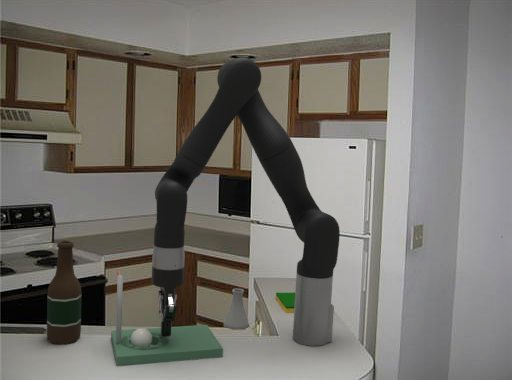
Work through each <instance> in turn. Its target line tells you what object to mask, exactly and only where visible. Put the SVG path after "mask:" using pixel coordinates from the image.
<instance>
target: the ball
mask: <svg viewBox="0 0 512 380" xmlns="http://www.w3.org/2000/svg"><path fill="white" fill-rule="evenodd" d="M147 329H148V328H141V327H140V328H137V330H135V331H134V332H133V334H132V335H131V344H132V345H134V346H138V347H149V346H152V344H151V343H152V335H151V333H150V332H149V331H148V330H147Z"/></svg>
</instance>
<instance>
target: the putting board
mask: <svg viewBox="0 0 512 380" xmlns="http://www.w3.org/2000/svg"><path fill="white" fill-rule="evenodd" d="M116 275H117V277H116V283H117V284H116V286H117V287H116V288H117V289H116V320H115V321H116V324H115V330H111V335H110V341H111V345H112V349H113V354H114V360H115V363H116V366H117V367H119V366H131V365H143V364H153V363H164V362H165V363H167V362H177V361H178V362H180V361H189V360H200V359H211V358H212V359H214V358H223V356H224V348H223V346H222V345H221V343H220V342H219V340H218V339H217V338H216V336H215V335H214V333H213V331H212V329H211V328H210V327H209V326H208V325H207V324H198V325H196V324H195V325H194V324H193V325H184V326H183V325H182V326H171V336H168V337H163V336H162V335H161V327H151V328H146V329H147V330H148V331H149V332H150V333H151V335H152V343H151V345H150V346H149V347H138V346H134V345H132V344H131V335H132V334H133V332H134V331H135V330H137V329H138V328H137V329H133V328H132V329H122V324H123V323H122V322H123V320H122V319H123V317H122V316H123V290H124V289H123V285H124V281H123V280H124V275H122V274H121V271H120V270H119V269H118V270H117V273H116Z"/></svg>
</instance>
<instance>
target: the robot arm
mask: <svg viewBox="0 0 512 380" xmlns="http://www.w3.org/2000/svg"><path fill="white" fill-rule="evenodd" d="M216 81H217V85H218V90H217V92H216V94H215V96H214V98H213V99H212V102H211V104H210V105H209V106H208V108H207V110H206V111H205V112H204V114H203V116H202V117H201V118H200V119H199V121H198V122H197V123H196V125H194V127H193V128H192V130H191V131H190V132H189V134H188V136H187V138H186V139H184V142H183V143H182V146H181V147H180V149H179V151H178V152H177V154H176V155H175V159H174V160H173V161H172V163H171V165H169V168H168V169H167V170H166V171H165V173H164V174H163V176H162V177H161V179H160V180H159V182H158V183H157V185H156V187H155V190H154V197H155V200H156V223H155V225H154V232H153V234H154V235H153V250H152V258H151V259H152V261H151V263H152V264H151V285H153V286H155V287H157V288H159V289H160V290H157V298H158V299H157V300H158V314H159V315H160V316H159V319H160V321H161V322H160V328H161V335H162V336H163V337H168V336H171V327H172V322H174V321H175V318H176V313H177V309H178V304H177V303H176V301H177V299H178V293H177V292H176V290H175V289H176V288H177V287H178V288H179V287H181V286H182V285H183V284H184V282H185V260H186V259H185V258H186V257H185V222H186V218H187V217H186V216H187V209H188V193H187V192H188V191H189V189H190V187H191V186H192V184H193V182H194V181H195V179H197V178H198V177H200V175H201V174H202V172H203V171H204V169H206V166H207V164H208V162H209V161H210V160H211V158H212V156H213V154H214V153H215V150H216V149H217V147H218V145H219V143H220V141H221V140H222V139H223V136H224V135H225V133H226V132H227V129H229V127H230V125H231V124H232V122H233V121H234V119H235V118H236V116H237V117H238V119H239V121H240V122H241V123H240V124H242V127H243V128H244V131H245V134H246V136H247V138H248V140H249V142H250V145H251V146H252V149H253V151H254V153H255V155H256V158H257V159H258V161H259V163H260V164H261V167H262V169H263V171H264V172H265V174H266V176H267V177H268V179H269V181H270V183H271V184H272V186H273V188H274V189H275V191H276V193H277V194H278V196H279V197H280V199H281V201H282V202H283V204H284V207H285V208H286V211H287V213H288V216H289V218H290V221H291V224H292V226H293V229H294V231H295V234H296V236H297V237H298V239H299V240H300V241H301V242H302V243H303V250H302V258H301V259H300V260H299V261H298V262H297V264H296V275H295V276H296V277H295V291H294V293H295V307H294V313H293V324H292V325H293V326H292V328H293V329H292V340H293V341H295V342H296V343H298V344H301V345H305V346H310V347H311V346H312V347H313V346H314V347H316V346H323V345H326V344H327V343H331V342H333V341H332V340H333V330H334V328H333V327H334V326H333V325H334V313H335V311H334V310H335V305H333V303H332V295H333V280H334V271H335V270H334V269H335V268H336V265H337V263H338V257H339V246H340V235H341V234H340V230H341V229H340V226H339V223H338V221H337V219H336V218H335V217H333V216H332V215H330V214H329V213H326V212H324V211H322V209H320V207H319V206H318V205H317V203H316V201H315V200H314V198H313V196H312V194H311V192H310V190H309V189H308V186H307V182H306V175H305V170H304V167H303V162H302V159H301V157H300V155H299V153H298V151H297V149H296V147H295V145H294V142H293V140H292V139H291V137H290V135H289V134H288V133H287V131H286V130H285V129H284V128H283V126H282V124H280V122H278V120H277V119H276V118H275V116H274V115H273V114H272V113H271V112H270V110H269V109H268V107H267V105H266V104H265V102H264V99H263V98H262V95H261V93H260V91H259V88H260V86H261V82H262V71H261V69H260V67H259V65H258V64H257V62H255V61H254V60H253V59H250V58H247V57H237V58H234V59H233V58H232V59H231V60H229V61H228V60H227V61H226V62H225V63H224V64H222V65H221V67H220V68H219V70H218V72H217V80H216Z"/></svg>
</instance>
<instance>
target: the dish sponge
mask: <svg viewBox="0 0 512 380" xmlns="http://www.w3.org/2000/svg"><path fill="white" fill-rule="evenodd" d="M275 300H276V302H277V303H278V304H279V306H280V307H281V309H282V311H284V313H285V314H294V307H295V292H276V293H275Z"/></svg>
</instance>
